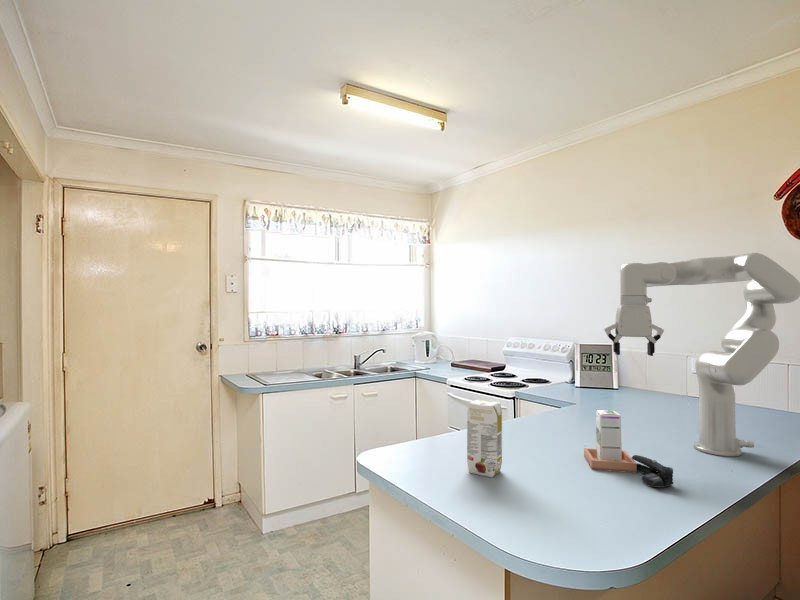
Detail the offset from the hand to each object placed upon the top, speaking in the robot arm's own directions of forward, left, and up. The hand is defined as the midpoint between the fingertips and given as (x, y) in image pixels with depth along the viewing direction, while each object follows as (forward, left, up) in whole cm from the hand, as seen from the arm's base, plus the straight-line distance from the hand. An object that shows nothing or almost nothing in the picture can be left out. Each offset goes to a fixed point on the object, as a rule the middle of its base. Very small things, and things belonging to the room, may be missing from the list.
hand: (633, 355), depth 145 cm
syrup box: (+11, +16, -30) cm, 36 cm away
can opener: (+3, +25, -31) cm, 40 cm away
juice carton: (+46, +31, -31) cm, 63 cm away
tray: (+11, +16, -30) cm, 36 cm away
